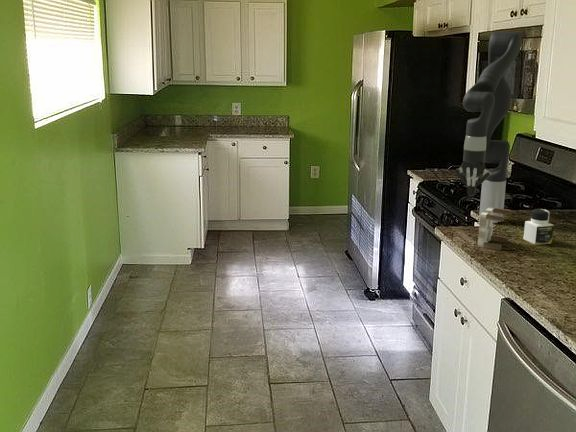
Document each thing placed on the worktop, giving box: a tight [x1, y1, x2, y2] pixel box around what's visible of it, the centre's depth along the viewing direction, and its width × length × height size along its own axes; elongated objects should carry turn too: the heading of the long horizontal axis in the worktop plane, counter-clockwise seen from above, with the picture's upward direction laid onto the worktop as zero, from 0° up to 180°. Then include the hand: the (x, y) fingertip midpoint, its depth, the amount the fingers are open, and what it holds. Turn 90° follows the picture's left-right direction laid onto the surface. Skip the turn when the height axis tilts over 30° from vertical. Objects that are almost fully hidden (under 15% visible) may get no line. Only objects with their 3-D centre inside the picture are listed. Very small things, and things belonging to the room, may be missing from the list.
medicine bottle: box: [523, 208, 554, 246], centre depth 223 cm, size 7×7×12 cm
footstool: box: [477, 207, 512, 251], centre depth 220 cm, size 12×8×12 cm, turn 148°
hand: (470, 195), depth 222 cm, fingers closed
